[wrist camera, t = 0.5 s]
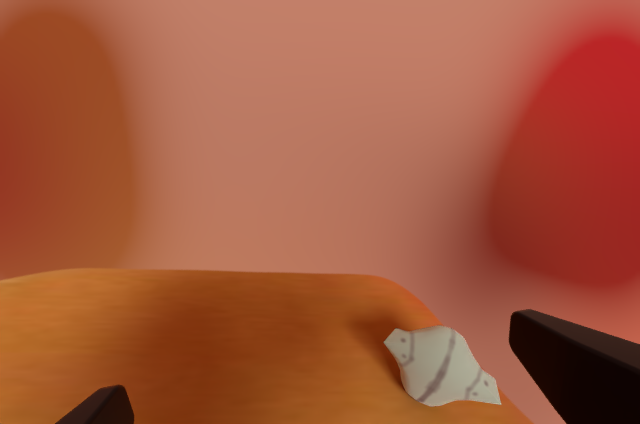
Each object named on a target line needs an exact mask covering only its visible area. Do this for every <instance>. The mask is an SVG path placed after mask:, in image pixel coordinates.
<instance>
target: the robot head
mask: <svg viewBox="0 0 640 424" xmlns="http://www.w3.org/2000/svg"><path fill="white" fill-rule="evenodd" d="M383 343H384V344H385V345H386V347H387V348H388V350H389V351H390V352H391V354H392V355H393V357H394V358H395V359H396V361H397V364H398V366H399V368H400V375H401V380H402V384H403V386H404V389H405V391H406V392H407V393H408V394H409V395H410V396H411V397H413V398H414V399H415V400H416V401H418V402H421V403H423V404H426V405H428V406H441V405H444V404H446V403H449V402H452V401H455V400H473V401H480V402H486V403H493V404H499V405H501V402H500V398H499V393H498V389H497V385H496V381H495V378H493V377H492V376H490V375H489V374H488V373H486V372H485V371H483V370H482V369H481V367H480V366H479V364H478V363H477V361H476V360H475V358H474V357H473V355H472V353H471V351H470V349H469V347H468V345H467V343H466V341H465V339H464V337H462V336H461V335H460V334H459V333H457V332H456V331H455V330H454V329H452V328H449V327H445V326H441V325H437V326H432V327H427V328H422V329H418V330H413V331H409V332H408V331H404V330H401V329H398V328H395V330H394V331H393V332H392V333H391V334H390V335H389V336H388V338H387V339H386V340H385V341H384V342H383Z"/></svg>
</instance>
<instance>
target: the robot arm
mask: <svg viewBox="0 0 640 424" xmlns="http://www.w3.org/2000/svg"><path fill="white" fill-rule="evenodd" d="M510 320H511V321H510V331H509V344H510V347H511V349H512V351H513V352H514V354H515V355H516V356H517V357H518V359H519V360H520V362H521V363H522V365H523V366H524V367H525V369H526V370H527V372H528V373H529V374H530V376H531V377H532V378H533V380H534V381H535V383H536V384H537V385H538V387H539V388H540V389H541V391H542V392H543V393H544V395H545V396H546V398H547V399H548V400H549V402H550V403H551V405H552V406H553V407H554V409H555V410H556V411H557V412H558V414H559V415H560V416H561V417H562V419H563V420H564V421H565V422H566V424H640V344H637V343H634V342H631V341H628V340H625V339H622V338H619V337H615V336H612V335H609V334H606V333H603V332H600V331H597V330H593V329H591V328H587V327H584V326H581V325H578V324H575V323H572V322H569V321H566V320H562V319H559V318H556V317H553V316H550V315H547V314H544V313H540V312H538V311H534V310H531V309H526V310H520V311H516V312H513V313H512V315H511V319H510ZM55 424H134V413H133V410H132V407H131V404H130V401H129V398H128V395H127V392H126V390H125V388H124V387H123V386H122V385H114V386H109V387H104V388H101V389H99V390H97V391H96V392H95V393H93V394H92V395H91V396H90V397H88V398H87V399H86V400H84V401H83V402H82V403H81V404H79V405H78V406H77V407H76V408H74V409H73V410H72V411H70V412H69V413H68V414H67V415H65V416H64V417H63V418H62V419H60V420H59V421H58V422H56V423H55Z"/></svg>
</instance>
